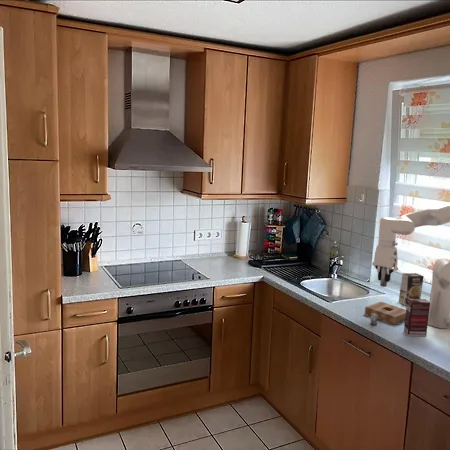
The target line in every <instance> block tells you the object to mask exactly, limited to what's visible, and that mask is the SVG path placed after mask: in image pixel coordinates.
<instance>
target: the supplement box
mask: <svg viewBox="0 0 450 450" xmlns="http://www.w3.org/2000/svg"><path fill="white" fill-rule="evenodd" d="M429 301H430V300H427V298H426V299H425V298H421V299H407V306H406V309H405V310H406V316H405V321H404V326H403V333H404V334H405V335H406V336H407V337H427V331H428V326H429V325H428V317H429V308H430V302H429Z"/></svg>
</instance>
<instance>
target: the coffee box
mask: <svg viewBox="0 0 450 450" xmlns="http://www.w3.org/2000/svg"><path fill="white" fill-rule="evenodd" d="M424 278H425V277H424V275H421V274H419V273H416V272H414V273H413V272H411V273H410V272H409V273H407V272H406V273H402V274H401V279H400V280H401V282H400V289H399V295H398V296H399V297H398V303H401V304H402V305H404V306H405V307H407V299H422V298H421V297H422V291H423V283H424Z"/></svg>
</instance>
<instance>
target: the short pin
mask: <svg viewBox="0 0 450 450" xmlns="http://www.w3.org/2000/svg"><path fill="white" fill-rule="evenodd" d="M378 320H379V319H378V314H375V313H372V314H371V317H370V322H369V324H370V326H372V327H376V326H377V325H378Z"/></svg>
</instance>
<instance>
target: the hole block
mask: <svg viewBox="0 0 450 450" xmlns="http://www.w3.org/2000/svg"><path fill="white" fill-rule="evenodd" d="M372 313H375V314H378V320H379V321H382V322H384V323H387V324H390V325H393V326H396V325H399V324H401V323H403V322H405V316H406V309H405V308H402V307H399V306H395V305H393V304H390V303H386V302H383V301H379V302H375V303H372V304H370V305H367V306H365V308H364V316H365V315H366V316H369V317H370V318H371V314H372Z"/></svg>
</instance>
